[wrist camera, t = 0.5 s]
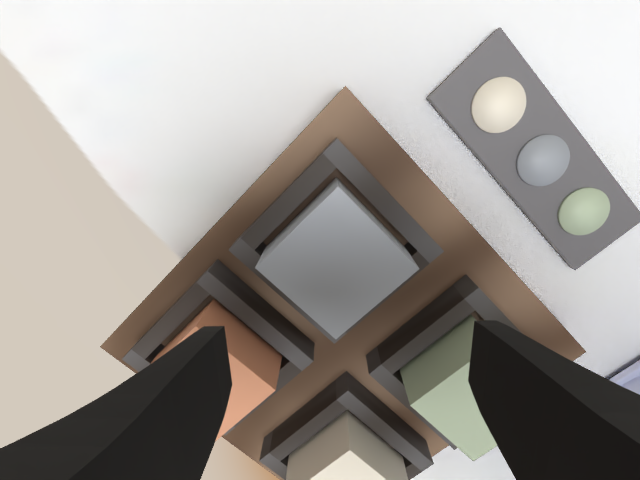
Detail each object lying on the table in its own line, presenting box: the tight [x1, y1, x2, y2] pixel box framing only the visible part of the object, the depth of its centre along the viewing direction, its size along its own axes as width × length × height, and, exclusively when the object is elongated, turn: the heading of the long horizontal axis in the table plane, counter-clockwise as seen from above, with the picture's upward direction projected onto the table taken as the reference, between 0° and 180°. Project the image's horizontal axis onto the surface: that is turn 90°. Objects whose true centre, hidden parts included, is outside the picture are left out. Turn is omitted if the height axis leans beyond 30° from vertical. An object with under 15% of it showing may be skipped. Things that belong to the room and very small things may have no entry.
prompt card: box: [426, 28, 640, 270], centre depth 17 cm, size 12×4×1 cm, turn 45°
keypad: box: [100, 86, 586, 480], centre depth 19 cm, size 18×18×4 cm
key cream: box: [286, 410, 408, 480], centre depth 18 cm, size 4×4×2 cm
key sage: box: [399, 314, 498, 461], centre depth 16 cm, size 4×4×2 cm
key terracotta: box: [151, 299, 282, 441], centre depth 16 cm, size 4×4×2 cm
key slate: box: [255, 177, 419, 339], centre depth 15 cm, size 4×4×2 cm
